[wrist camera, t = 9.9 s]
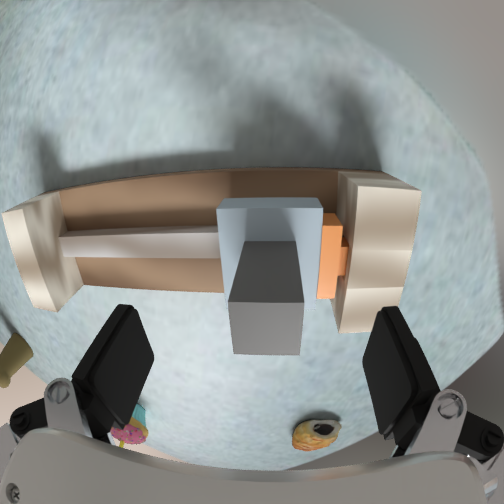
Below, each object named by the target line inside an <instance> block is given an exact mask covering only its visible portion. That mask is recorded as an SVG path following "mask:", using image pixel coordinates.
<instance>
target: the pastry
mask: <svg viewBox="0 0 504 504" xmlns="http://www.w3.org/2000/svg"><path fill="white" fill-rule="evenodd" d="M340 429H341V424H340V423H338V421H335V420H309V421H304V422H302V423H300V424H299V425H298V426H297V428H296V429H295V431H294V434H293V438H292V445H293V447H294V448H295V449H299V450H303V451H311V450H317V449H320V448H323V447H327V446H329V445H330V443H332V442H334V441H335V440H336V439H337V437H338V433H339V430H340Z"/></svg>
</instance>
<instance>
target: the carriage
mask: <svg viewBox="0 0 504 504" xmlns="http://www.w3.org/2000/svg"><path fill="white" fill-rule="evenodd" d="M216 211H217V223H218V234H219V244H220V255H221V264H222V274H223V283H224V293H225V301H226V309H228V310H229V319H230V327H231V336H232V344H233V352H234V354H248V355H300V346H301V337H302V326H303V315H304V310H315V307H316V298H317V288H318V277H319V266H320V253H321V239H322V223H323V207H322V205H321V203H320V202H319V200H318V198H304V197H266V198H224V199H223V200H222V202H221V203H220V205H219V206H218V207H217V209H216Z"/></svg>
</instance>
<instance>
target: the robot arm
mask: <svg viewBox="0 0 504 504" xmlns="http://www.w3.org/2000/svg"><path fill="white" fill-rule="evenodd" d="M153 362H154V353H153V351H152V348H151V346H150V343H149V341H148V338H147V336H146V333H145V330H144V328H143V325H142V322H141V320H140V317H139V314H138V311H137V310H136V309H134V307H133V306H132V305H125V304H119V305H117V307H116V308H115V309H114V311H113V312H112V314H111V315H110V317H109V318H108V320H107V321H106V323H105V324H104V326H103V327H102V329H101V330H100V332H99V333H98V335H97V336H96V338H95V339H94V341H93V342H92V344H91V345H90V347H89V348H88V350H87V352H86V353H85V355H84V356H83V358H82V360H81V361H80V363H79V365H78V366H77V368H76V369H75V371H74V373H73V375H72V378H73V379H72V381H70V380H68V379H66V378H57V379H55V380H53V381H51V382H50V383H49V384H48V386H47V387H46V389H45V392H44V398H42V399H39V400H37V401H34V402H32V403H29V404H27V405H24V406H22V407H19V408H17V409H16V410H15V411H14V412H13V413H12V415H11V418H10V424H8V423H6V424H4V425H3V426H2V427H1V428H0V504H504V435H503V432H502V430H501V429H500V427H498V426H497V425H496V424H493V423H491V422H489V421H487V420H485V419H483V418H481V417H478V416H476V415H474V414H472V413H470V412H468V411H467V404H466V401H465V399H464V397H463V396H462V395H461V394H460V393H458V392H457V391H455V390H451V389H449V390H443V391H440V389H439V386H438V384H437V381H436V379H435V377H434V375H433V372H432V370H431V368H430V366H429V364H428V361H427V359H426V357H425V355H424V353H423V351H422V349H421V347H420V345H419V343H418V341H417V339H416V338H414V337H413V335H412V333H411V331H410V329H409V327H408V325H407V323H406V321H405V319H404V317H403V315H402V313H401V312H400V310H399V308H398V307H397V306H386V307H382V309H381V311H378V312H377V314H376V318H375V321H374V325H373V328H372V331H371V334H370V338H369V341H368V344H367V347H366V350H365V353H364V356H363V360H362V363H363V368H364V372H365V376H366V379H367V383H368V387H369V391H370V395H371V399H372V403H373V407H374V412H375V416H376V420H377V425H378V429H379V433H380V434H383V435H384V439H385V440H389V439H393V438H394V439H395V443H396V445H397V446H396V447H395V449H394V451H393V452H392V454H391V456H390V457H389V459H384V460H380V461H374V462H369V463H363V464H356V465H349V466H343V467H334V468H324V469H314V470H313V469H312V470H293V471H258V470H239V469H227V468H217V467H209V466H201V465H195V464H189V463H182V462H177V461H172V460H167V459H163V458H158V457H153V456H150V455H146V454H142V453H138V452H135V451H131V450H128V449H124V448H121V447H118V446H116V445H115V443H114V440H113V438H112V435H111V433H110V430H111V428H112V427H114V428H117V429H120V430H124V427H125V425H127V424H129V422H130V420H131V417H132V414H133V412H134V409H135V406H136V404H137V401H138V399H139V396H140V394H141V391H142V389H143V386H144V384H145V381H146V379H147V376H148V374H149V372H150V369H151V367H152V364H153Z"/></svg>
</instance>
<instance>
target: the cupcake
mask: <svg viewBox="0 0 504 504" xmlns="http://www.w3.org/2000/svg"><path fill="white" fill-rule="evenodd" d="M110 433H111V435H112V436H113V437H114V438H116V439H118V440H119V441H120V445H119V447H121V448H123V445H124V443H127V444H140V443H142V442H145V441H146V440H145V439H146V438H147V436H148V430H147V428H146V423H145V410H144V409H143V408H142V407H141V406H140V405H139V404H136V406H135V409H134V412H133V414H132V417H131V420H130V422H129V424H127V425H125V427H124V430H120V429H117V428H114V427H112V428H111V430H110Z"/></svg>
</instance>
